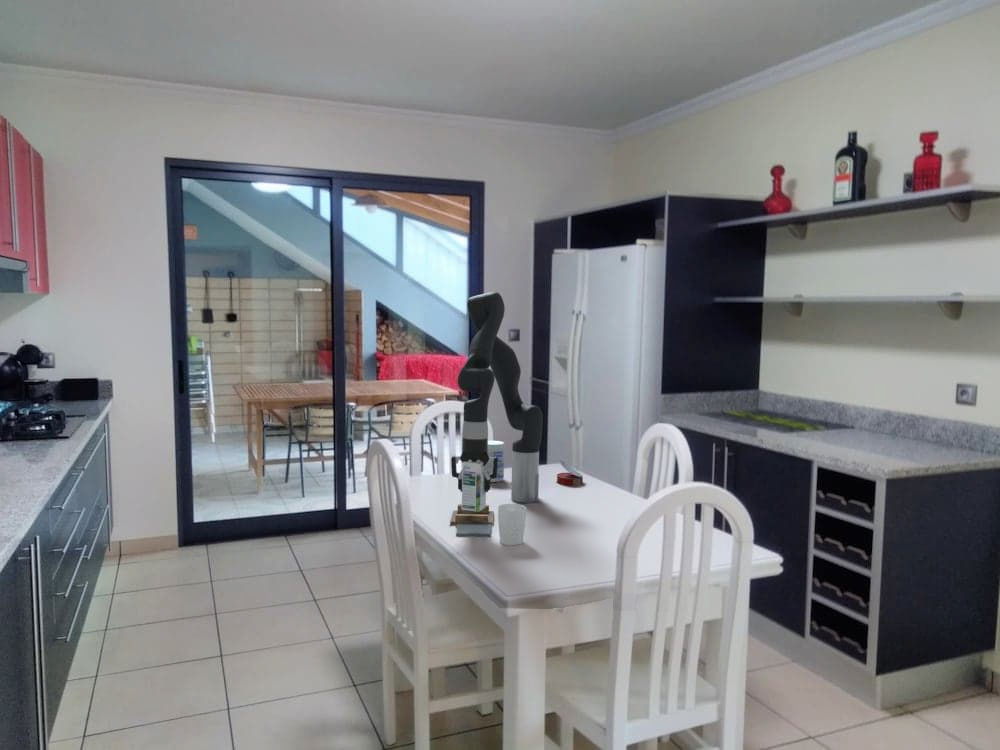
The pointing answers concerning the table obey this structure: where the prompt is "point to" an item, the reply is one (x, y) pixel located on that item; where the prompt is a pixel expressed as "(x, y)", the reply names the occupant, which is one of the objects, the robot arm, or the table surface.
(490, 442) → the supplement tub
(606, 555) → the table surface
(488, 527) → the thin grey plate
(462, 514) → the wooden picture frame
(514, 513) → the white cup
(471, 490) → the syrup box
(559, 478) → the canned food
